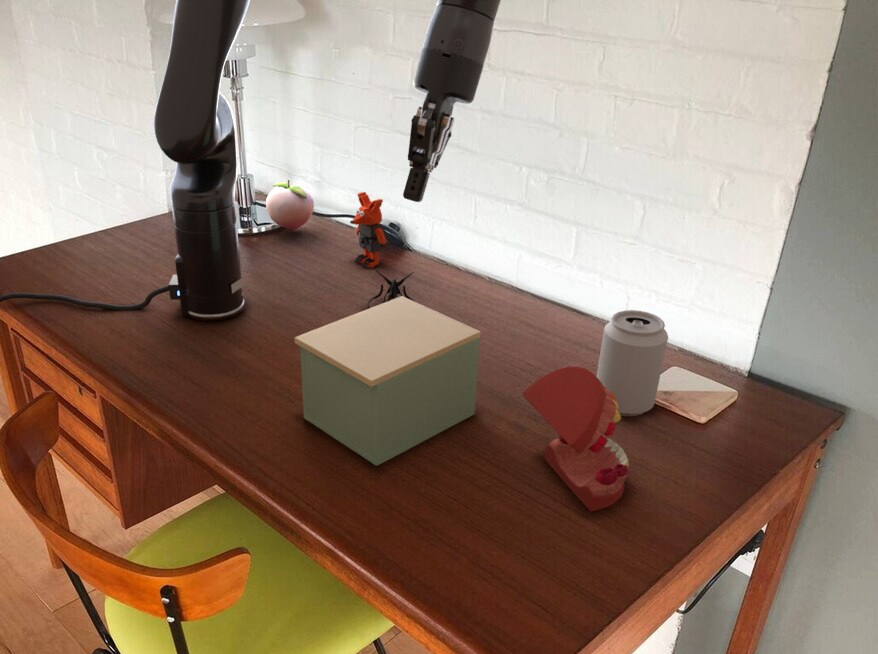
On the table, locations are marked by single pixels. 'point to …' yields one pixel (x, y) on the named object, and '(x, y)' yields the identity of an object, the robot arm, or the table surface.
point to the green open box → (390, 402)
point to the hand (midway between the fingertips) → (411, 200)
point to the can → (632, 359)
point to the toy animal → (369, 230)
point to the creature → (392, 289)
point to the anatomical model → (582, 434)
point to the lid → (386, 339)
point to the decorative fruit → (289, 205)
